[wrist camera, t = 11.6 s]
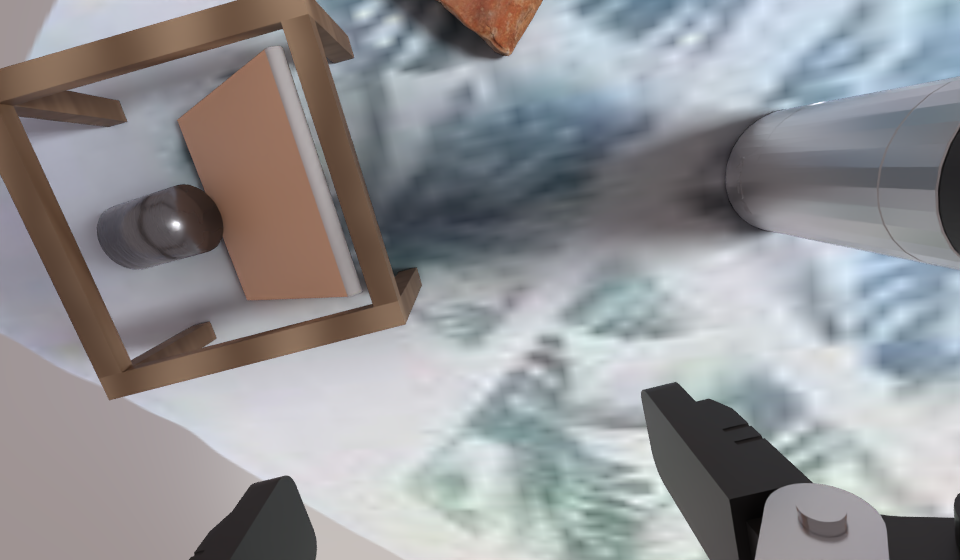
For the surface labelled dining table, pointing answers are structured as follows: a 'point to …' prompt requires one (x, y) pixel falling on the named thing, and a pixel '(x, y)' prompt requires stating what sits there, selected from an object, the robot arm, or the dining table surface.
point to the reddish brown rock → (495, 19)
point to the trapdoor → (269, 185)
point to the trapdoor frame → (43, 95)
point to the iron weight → (160, 227)
